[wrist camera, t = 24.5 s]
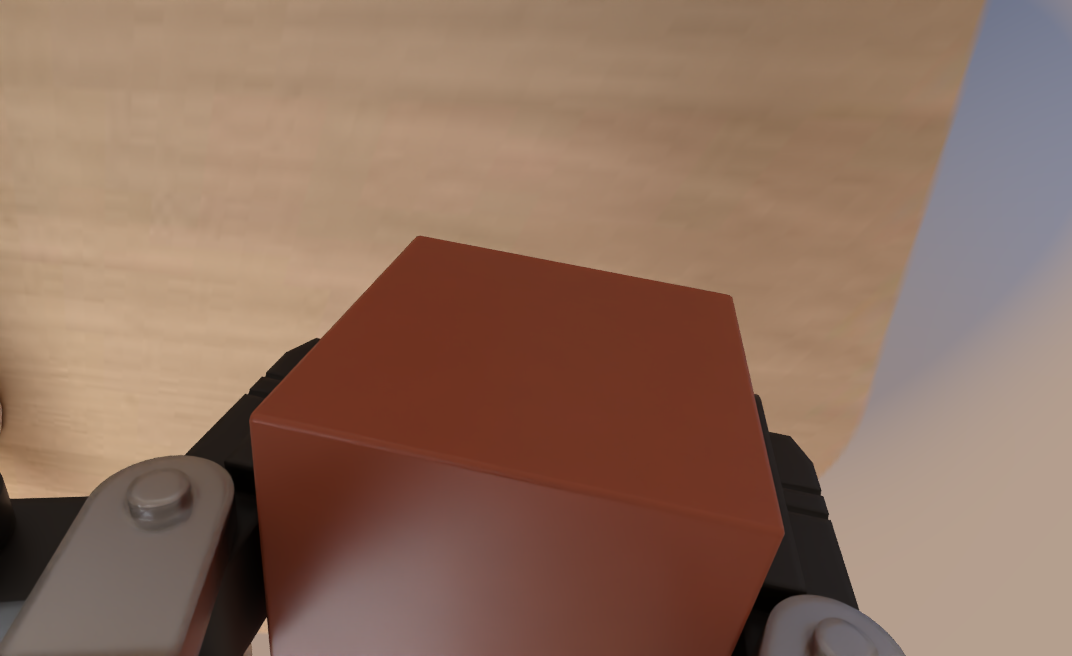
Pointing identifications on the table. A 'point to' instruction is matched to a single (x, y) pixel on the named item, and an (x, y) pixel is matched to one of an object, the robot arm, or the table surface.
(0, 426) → the mug
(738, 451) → the terracotta block
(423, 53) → the table surface
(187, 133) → the table surface
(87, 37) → the table surface
